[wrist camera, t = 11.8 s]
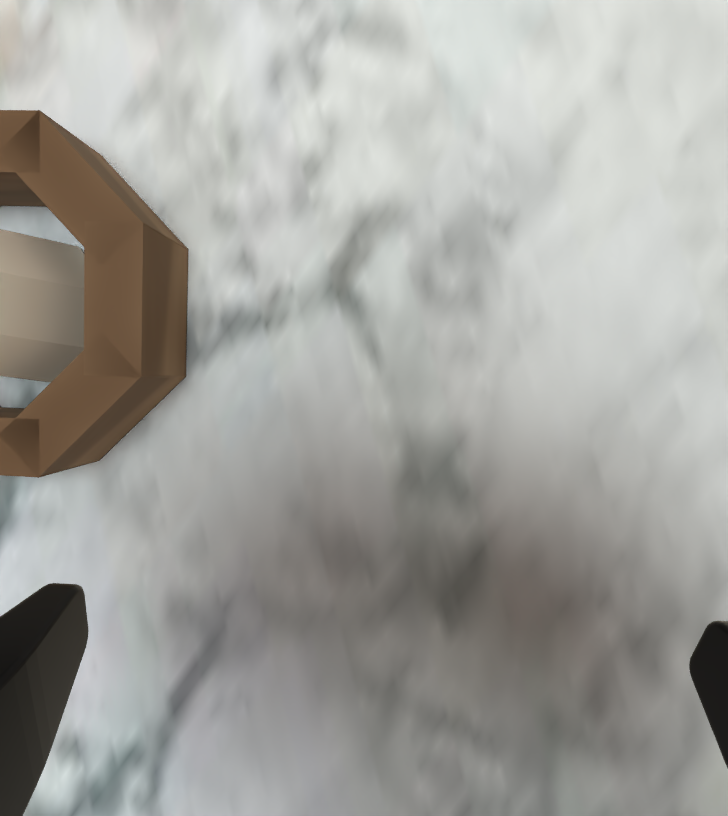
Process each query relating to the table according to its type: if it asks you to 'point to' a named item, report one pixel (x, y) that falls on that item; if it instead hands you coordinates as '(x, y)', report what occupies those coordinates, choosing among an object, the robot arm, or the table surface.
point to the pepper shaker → (39, 306)
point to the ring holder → (95, 301)
